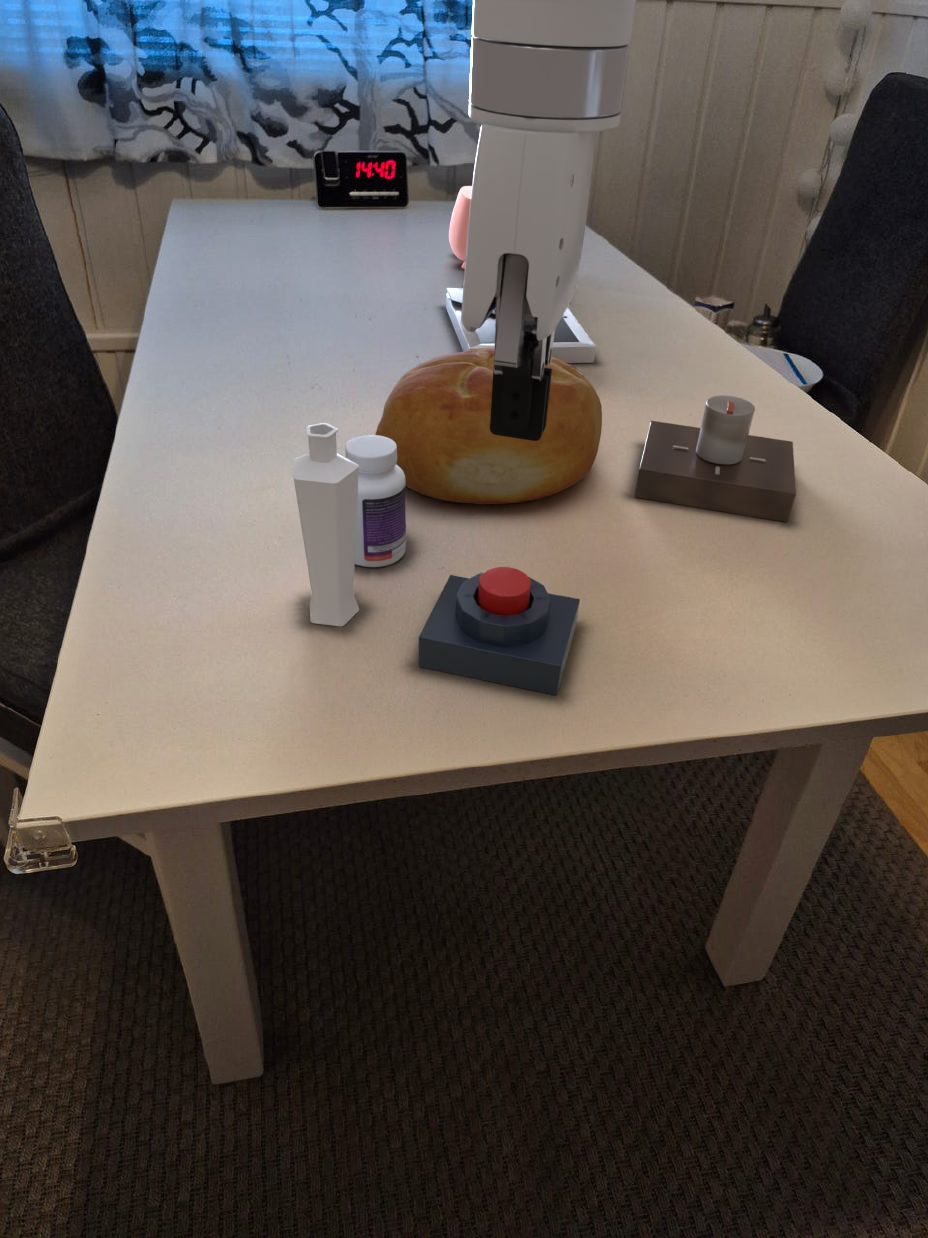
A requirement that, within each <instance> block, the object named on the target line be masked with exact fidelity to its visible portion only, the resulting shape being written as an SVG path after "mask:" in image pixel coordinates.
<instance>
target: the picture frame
mask: <svg viewBox="0 0 928 1238" xmlns="http://www.w3.org/2000/svg"><path fill="white" fill-rule="evenodd" d="M446 291H447V293H446V295H445V297H446V299H445V309H446V312H447V314H448V316H449V319H450V321H451V325H452V327H453V329H454V331H455V334H456V336H457V339H458V341H459V344H460V347H461V349H462V352H464V351H469V350H473V349H479V348H485V347H490V348H495V316H496V308H495V309H494V310H493V312H492V313H491V314H490V316H489V317H488V318H487V320H486V321H485V322H484V323H483V325H482V326H481V327H480V328H477V329H476V330H475V331H474V332H470V331H467V330H466V329H465V327H464V326H463V324H462V321H461V314H462V299H463V287H446ZM596 349H597V346H596V345H595V343H594V341H593V340H592V339H591V337H590V336H589V335H588V333H587V332H586V330H585V329H584V328H583V327H582V325H581V324H580V321H578V319H577V318H576V317H575V315H574V314H573V313H572V311H571V310H570V309H569V306H568V307H567V309H566V310H565V312H564V314H563V316H562V318H561V319H560V321H559V323H558V325H557V326H556V328H555V334H554V341H553V349H552V357H554V358H557V359H559V360H562V361H564V362H565V363H567V364H589V363H590V364H591V363H592V364H594V363H595V357H596Z"/></svg>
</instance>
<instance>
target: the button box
mask: <svg viewBox="0 0 928 1238" xmlns="http://www.w3.org/2000/svg"><path fill="white" fill-rule="evenodd" d="M483 573H484V572H479V573H476V574H475V575H473V576H472V577H464V576H458V575H453V574H450V575H449V577H448V578H447V581H446V583H445V585H444V586H443V589H442V590H441V592H440V594H439V596H438V598H437V601H436V602H435V604H434V606H433V608H432V610H431V612H430V614H429V616H428V618H427V620H426V622H425V625H423V628H422V630H421V632H420V634H419V635H418V667H419V668H424V669H429V670H432V671H433V670H434V671H439V672H443V673H448V674H454V675H457V676H462V677H467V678H468V677H469V678H472V679H477V680H481V681H486V682H491V683H496V684H501V685H506V686H511V687H515V688H520V689H525V690H529V691H534V692H539V693H544V694H549V695H553V696H557V695H558V693H559V689H560V685H561V683H562V678H563V675H564V672H565V668H566V664H567V662H568V661H567V660H568V657H569V654H570V650H571V647H572V642H573V640H574V636H575V633H576V629H577V621H578V615H579V610H580V609H579V608H580V601H581V599H580V598H576V597H570V596H565V595H559V594H554V593H549V592H548V591H547V588H546V587H545V585H544V584H542V583H540V582H539V581H537V580H535V579H534V578H532V577H530V576H528V577H529V579H530V581H531V589H530V599H529V605H528V607H527V609H526V610H525V611H523V612H522V613H520V614H514V615H506V616H503V615H497V614H492V613H489V612H487V611H486V610H484V609H483V608H482V607H481V606H480V604H479V602H478V592H479V579H480V576H481V575H482V574H483Z"/></svg>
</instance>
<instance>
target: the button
mask: <svg viewBox="0 0 928 1238" xmlns="http://www.w3.org/2000/svg"><path fill="white" fill-rule="evenodd" d="M482 573H483V574H482V575H481V576H480V579H479V592H478V602H479V604H480V606H481V607H482V608H483V609H484V610H486V611H487V612H489V613H492V614H497V615H503V616H506V615H514V614H520V613H522V612H523V611H525V610H526V609H527V607H528V605H529V599H530V589H531V581H530V579H529V577H530V576H528V574H527V573H525V572H523V571H522V570H520V569H518V568H514V567H509V566H497V567H496V566H495V567H491V568H489V569H486V570H485V571H484V572H482Z"/></svg>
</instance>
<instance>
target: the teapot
mask: <svg viewBox="0 0 928 1238" xmlns="http://www.w3.org/2000/svg"><path fill="white" fill-rule="evenodd" d="M471 193H472V185H464V186H462V187H461V188H460V189H459V192H458V194H457V196H456V200H455V204H454V207H453V210H452V213H451V218H450V223H449V231H448V241H449V244H450V245H449V246H450V247H451V250H452V252H453V255H455V257H456V258H457V259H458V260H460V261H462V262H463V263H462V265H461V269H463V270H465V261H466V248H467V236H468V224H469V213H470V203H471Z"/></svg>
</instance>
